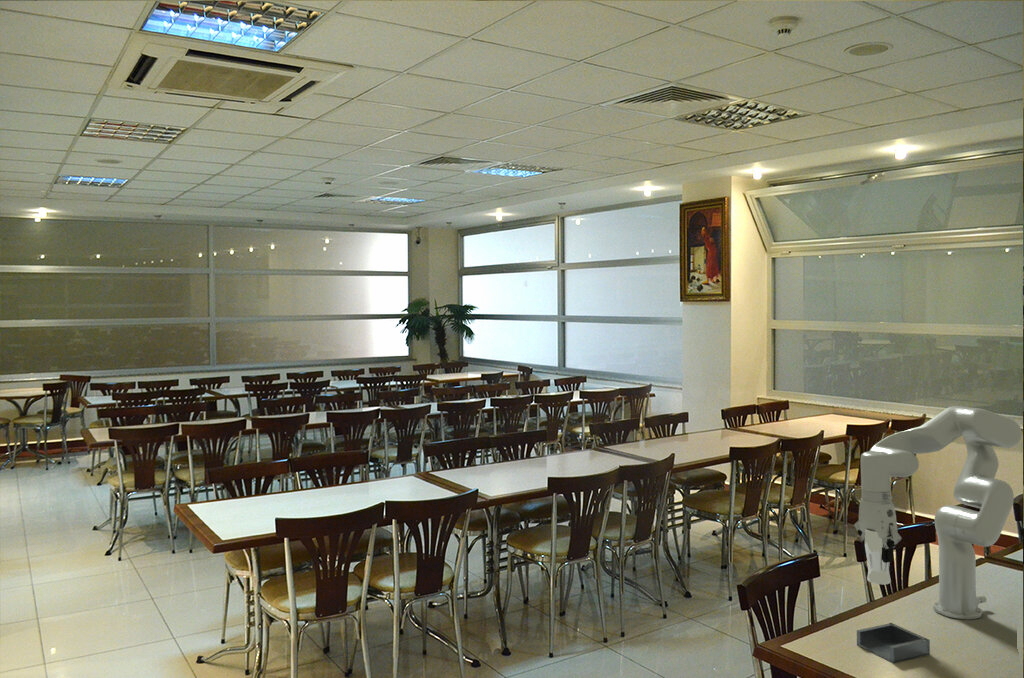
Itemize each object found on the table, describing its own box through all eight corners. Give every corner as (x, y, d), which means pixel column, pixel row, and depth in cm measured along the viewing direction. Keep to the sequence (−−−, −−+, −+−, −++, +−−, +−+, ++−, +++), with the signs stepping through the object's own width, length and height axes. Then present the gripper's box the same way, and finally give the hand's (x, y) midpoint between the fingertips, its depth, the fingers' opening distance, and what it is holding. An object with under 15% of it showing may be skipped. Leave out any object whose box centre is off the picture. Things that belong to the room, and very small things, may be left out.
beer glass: (895, 585, 219) (894, 532, 218) (868, 584, 220) (867, 532, 220) (888, 577, 226) (887, 525, 225) (862, 576, 227) (861, 525, 227)
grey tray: (891, 637, 218) (891, 622, 217) (929, 654, 206) (929, 639, 206) (856, 644, 213) (856, 630, 213) (893, 663, 202) (893, 648, 201)
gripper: (911, 500, 215) (913, 564, 216) (862, 488, 232) (864, 548, 232) (890, 504, 213) (892, 569, 213) (842, 491, 229) (844, 551, 230)
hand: (877, 557), depth 223 cm, fingers closed on beer glass, 6 cm apart
